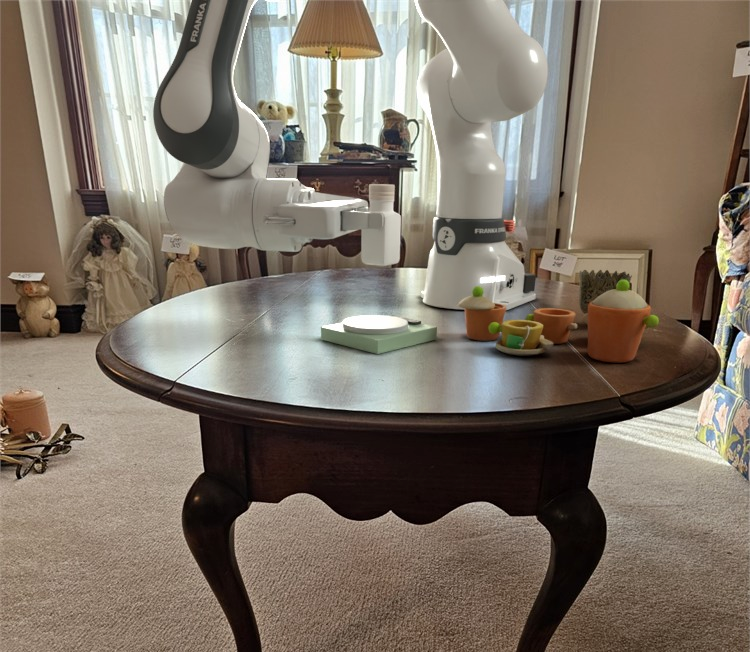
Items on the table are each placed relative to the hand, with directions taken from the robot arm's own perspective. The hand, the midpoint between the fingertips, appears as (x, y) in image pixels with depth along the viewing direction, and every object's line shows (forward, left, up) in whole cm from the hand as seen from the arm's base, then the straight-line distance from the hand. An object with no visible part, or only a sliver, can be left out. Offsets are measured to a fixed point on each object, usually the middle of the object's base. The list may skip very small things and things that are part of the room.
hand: (388, 219), depth 84 cm
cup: (-31, +16, -16) cm, 38 cm away
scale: (0, -1, -16) cm, 16 cm away
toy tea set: (-14, +18, -16) cm, 28 cm away
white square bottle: (+1, -1, -6) cm, 6 cm away
